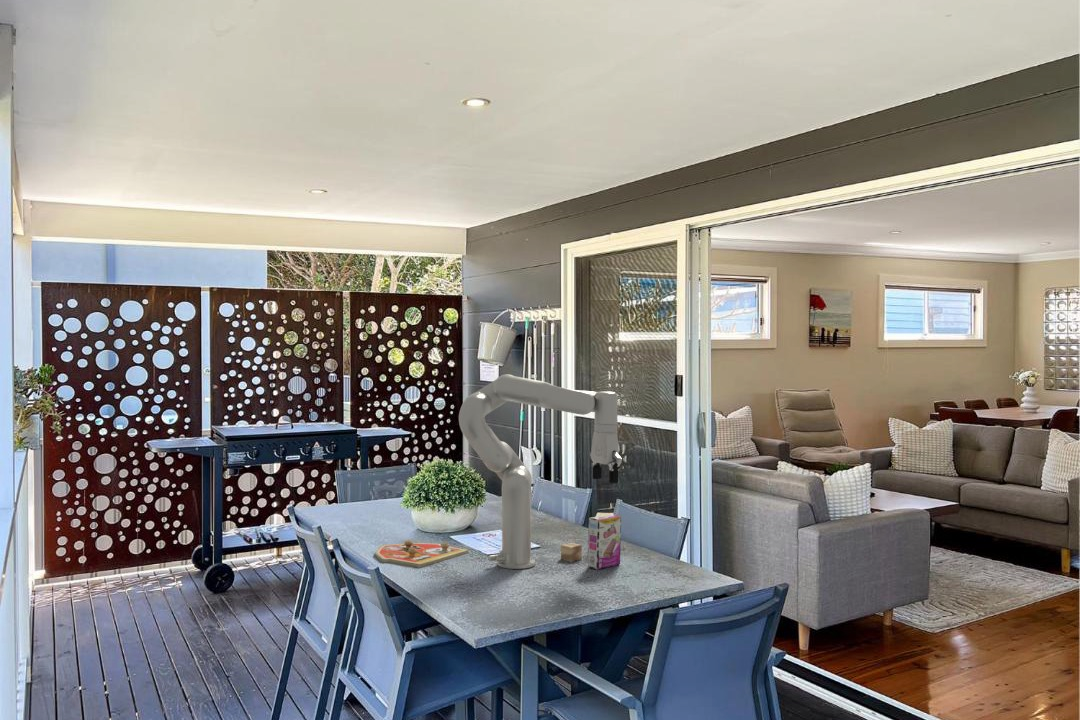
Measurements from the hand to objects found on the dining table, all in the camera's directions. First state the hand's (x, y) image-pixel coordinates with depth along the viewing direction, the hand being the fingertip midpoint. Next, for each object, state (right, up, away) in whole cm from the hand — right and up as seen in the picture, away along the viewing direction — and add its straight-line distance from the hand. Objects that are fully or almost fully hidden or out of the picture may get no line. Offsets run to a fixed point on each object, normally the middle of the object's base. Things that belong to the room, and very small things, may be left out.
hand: (605, 480), depth 283 cm
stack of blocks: (+2, -28, +28) cm, 40 cm away
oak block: (-11, -28, +9) cm, 32 cm away
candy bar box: (0, -28, 0) cm, 28 cm away
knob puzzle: (-66, -28, +15) cm, 73 cm away
